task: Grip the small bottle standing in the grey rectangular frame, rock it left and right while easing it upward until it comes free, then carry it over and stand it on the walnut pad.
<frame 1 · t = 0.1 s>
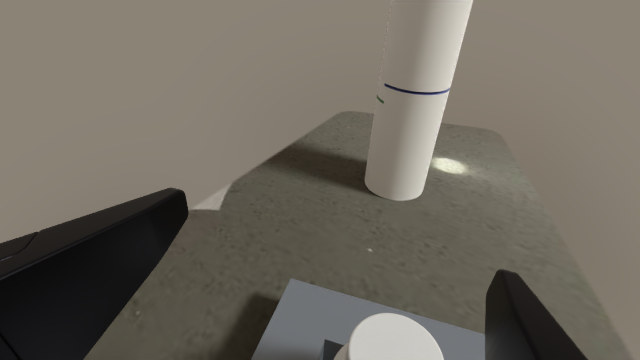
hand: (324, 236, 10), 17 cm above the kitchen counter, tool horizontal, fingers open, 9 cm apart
cylindrical container: (393, 184, 42), on the kitchen counter
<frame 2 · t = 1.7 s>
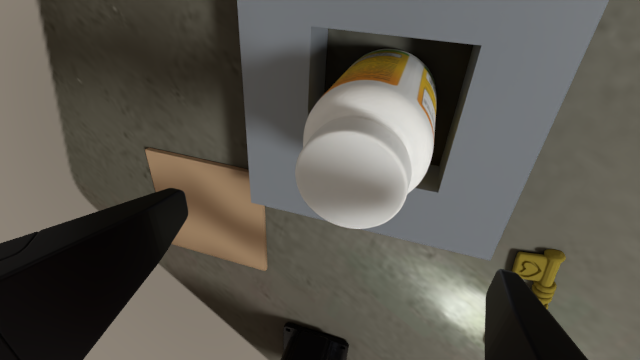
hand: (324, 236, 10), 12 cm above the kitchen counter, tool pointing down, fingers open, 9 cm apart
grey rectangular frame: (387, 96, 20), on the kitchen counter
supplement bottle: (388, 95, 20), resting in grey rectangular frame
key: (534, 305, 25), on the kitchen counter
pad: (211, 210, 29), on the kitchen counter
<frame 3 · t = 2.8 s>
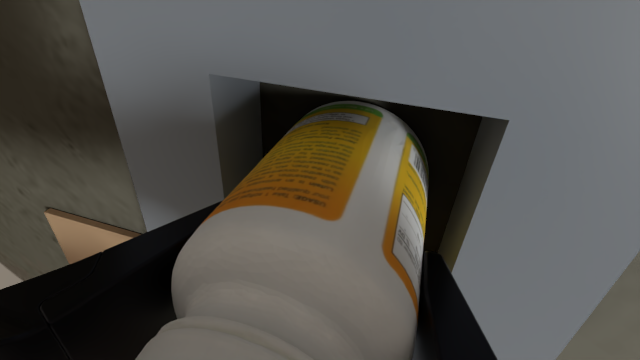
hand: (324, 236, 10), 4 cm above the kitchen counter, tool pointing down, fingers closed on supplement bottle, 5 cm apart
grey rectangular frame: (354, 167, 13), on the kitchen counter
supplement bottle: (355, 164, 13), resting in grey rectangular frame, touching gripper
pad: (139, 286, 22), on the kitchen counter
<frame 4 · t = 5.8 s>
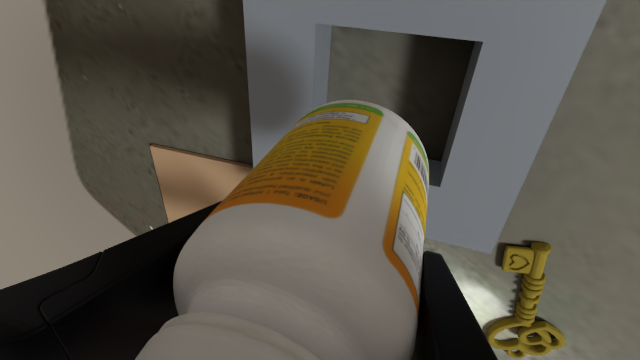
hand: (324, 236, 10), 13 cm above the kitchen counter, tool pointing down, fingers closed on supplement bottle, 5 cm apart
grey rectangular frame: (390, 92, 20), on the kitchen counter
supplement bottle: (356, 163, 13), point 9 cm above the kitchen counter, touching gripper
key: (528, 297, 25), on the kitchen counter
pad: (215, 206, 29), on the kitchen counter
when the fingers open (5 cm above the kitchen counter, at t = 8.8 s): supplement bottle stays where it is, resting on pad.
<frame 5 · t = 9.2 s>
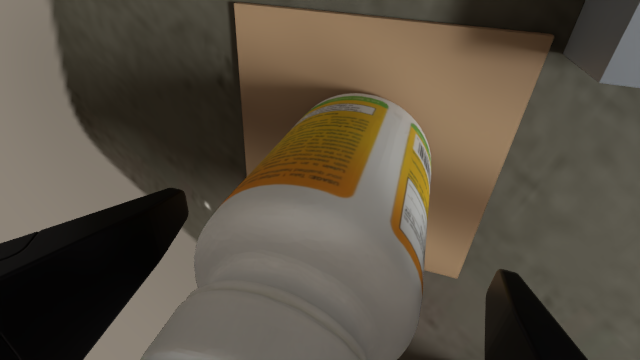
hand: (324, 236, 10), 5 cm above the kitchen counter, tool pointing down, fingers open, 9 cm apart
supplement bottle: (361, 155, 14), resting on pad
pad: (361, 153, 14), on the kitchen counter
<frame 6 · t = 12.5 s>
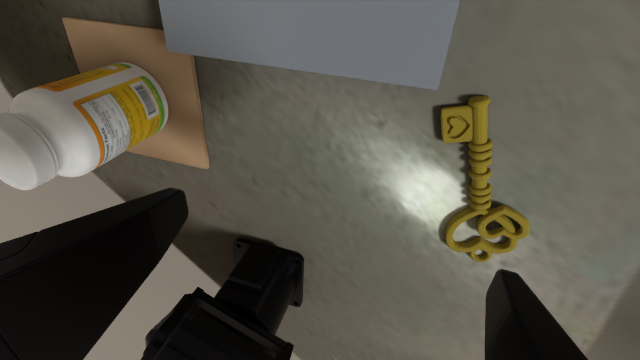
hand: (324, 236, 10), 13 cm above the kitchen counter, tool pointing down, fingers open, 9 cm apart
supplement bottle: (141, 97, 26), resting on pad
key: (483, 182, 22), on the kitchen counter
pad: (142, 96, 26), on the kitchen counter
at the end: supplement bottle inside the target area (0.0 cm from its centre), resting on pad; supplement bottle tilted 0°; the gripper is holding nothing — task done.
